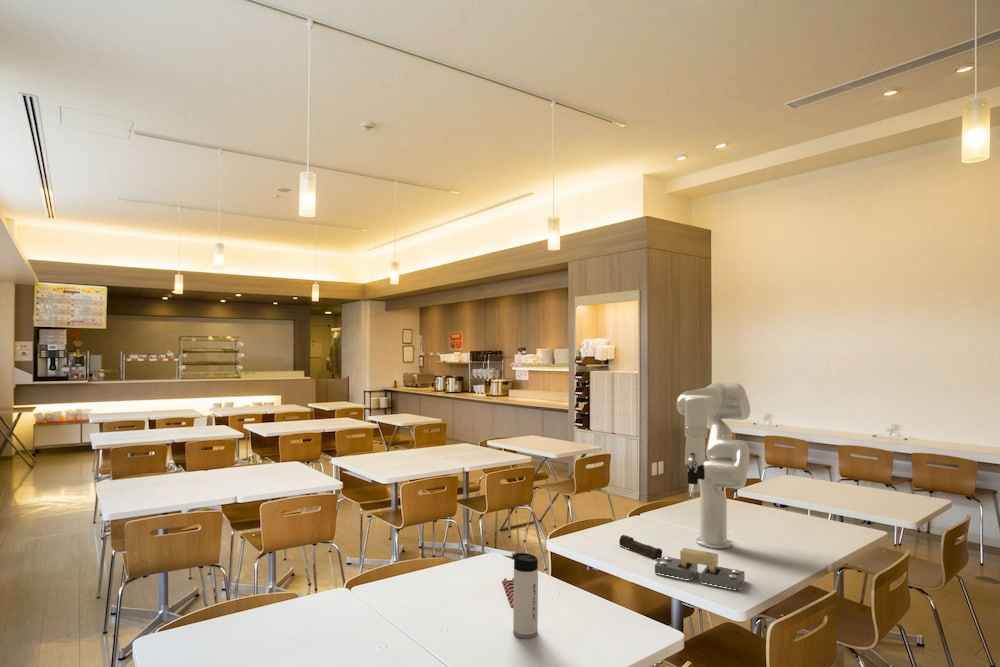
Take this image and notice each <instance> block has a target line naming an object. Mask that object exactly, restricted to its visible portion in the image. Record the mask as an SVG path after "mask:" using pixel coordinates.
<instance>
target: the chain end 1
mask: <svg viewBox="0 0 1000 667" xmlns="http://www.w3.org/2000/svg"><path fill="white" fill-rule="evenodd" d="M698 565H699V564H697V563H691V562H689V569H684V568H681V560H680V558H675V557H672V556H671V557H670V556H663V557H661V559H659V561H657V562H656V563H655V564H654V574H655V573H660V574H664V575H669V576H674V577H679V578H683V579H689V580H690V579H691V578H692V577H693V576H694V574H695V573H696V572H697V571H698V570H699V569H698ZM697 573H698V572H697ZM697 573H696V574H697ZM696 574H695V575H696ZM694 577H695V576H694ZM694 577H693V578H694ZM693 578H692V579H693ZM692 579H691V580H692ZM691 580H690V581H691Z"/></svg>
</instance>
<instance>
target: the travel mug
mask: <svg viewBox="0 0 1000 667" xmlns="http://www.w3.org/2000/svg"><path fill="white" fill-rule="evenodd" d="M512 559H513V578H514V607H512V608H513V612H512V613H513V616H512V617H513V619H512V620H513V622H512V623H513V625H512V626H513V627H512V628H513V629H512V630H513V631H512V633H513V635H514V636H515V637H517V638H519V639H523V640H529V639H533V638H535V637H537V636H538V632H539V630H538V629H539V628H538V627H539V626H538V620H539V618H538V614H539V612H538V610H539V607H538V606H539V600H538V599H539V598H538V597H539V594H538V593H539V592H538V591H539V564H538V563H539V559H538V558H537V556H535V555H533V554H530V553H525V552H524V553H523V552H517V553H513V554H512Z"/></svg>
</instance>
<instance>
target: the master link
mask: <svg viewBox="0 0 1000 667" xmlns="http://www.w3.org/2000/svg"><path fill="white" fill-rule="evenodd" d="M679 552H680V554H679V555H680V556H679V559H680V560H681V568H684V569H689V562H691V563H697V564H698V565H703V566H706V567H707V566H709V573H710V574H715V575H718V572H717V566H718V564H719V553H715V552H709V551H703V550H699V549H697V550H696V549H692V548H687V547H683V548H682V549H681V550H680V551H679Z"/></svg>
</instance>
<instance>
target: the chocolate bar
mask: <svg viewBox="0 0 1000 667" xmlns="http://www.w3.org/2000/svg"><path fill="white" fill-rule="evenodd" d="M501 583H502V586H503V590H504V592H505V594H506V598H507V600H508V602H509V605H510V608H513V607H514V577H512V579H507V578H506V577H504V578H503V579H502V580H501Z"/></svg>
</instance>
